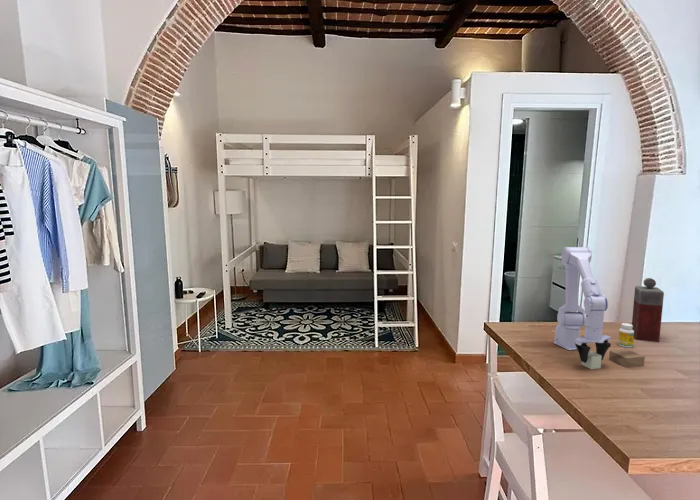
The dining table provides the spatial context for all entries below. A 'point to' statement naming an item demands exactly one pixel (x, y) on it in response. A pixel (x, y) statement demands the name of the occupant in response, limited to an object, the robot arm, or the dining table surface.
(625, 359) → the walnut block
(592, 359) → the sage block
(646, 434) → the dining table surface
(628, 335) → the supplement bottle
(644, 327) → the red lidded box
